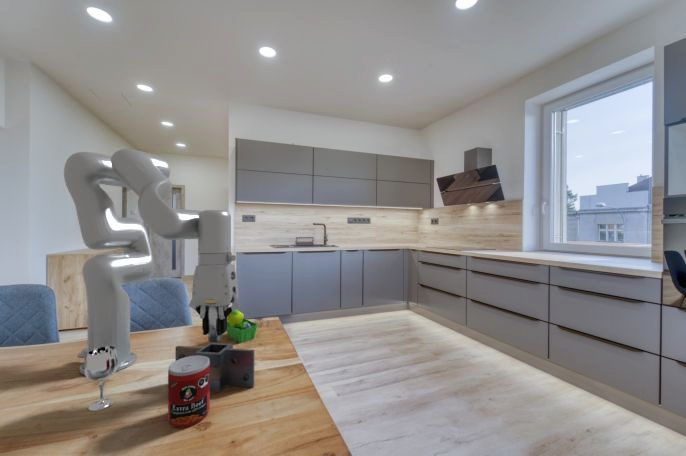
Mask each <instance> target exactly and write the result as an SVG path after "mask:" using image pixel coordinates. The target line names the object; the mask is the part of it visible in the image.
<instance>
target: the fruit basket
mask: <svg viewBox="0 0 686 456" xmlns="http://www.w3.org/2000/svg"><path fill="white" fill-rule="evenodd" d="M244 317H245V316H244V313H243V312H241V310H240V311H239V310H238V309H236V310H234V311H232V312H231V313H230V314H229V316H228V317H227V330H226V333H227V337H228V338H230V339H232V340H235V341H236V342H238V343H240V344H243V343H246V342H248V341H251V340H254V339H255V336H256V332H257V329H258V327H259V324H258V323H256V322H253V321H251V320H248V319H247V318H244Z"/></svg>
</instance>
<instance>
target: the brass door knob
mask: <svg viewBox="0 0 686 456" xmlns="http://www.w3.org/2000/svg"><path fill="white" fill-rule="evenodd" d="M204 304H217V303H216V300H204ZM218 319H219V308H218V307H215V306H208V334H207V341H208V343H218V342H219V341H221V340H222V335H221V336H218V335H217V320H218Z"/></svg>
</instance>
